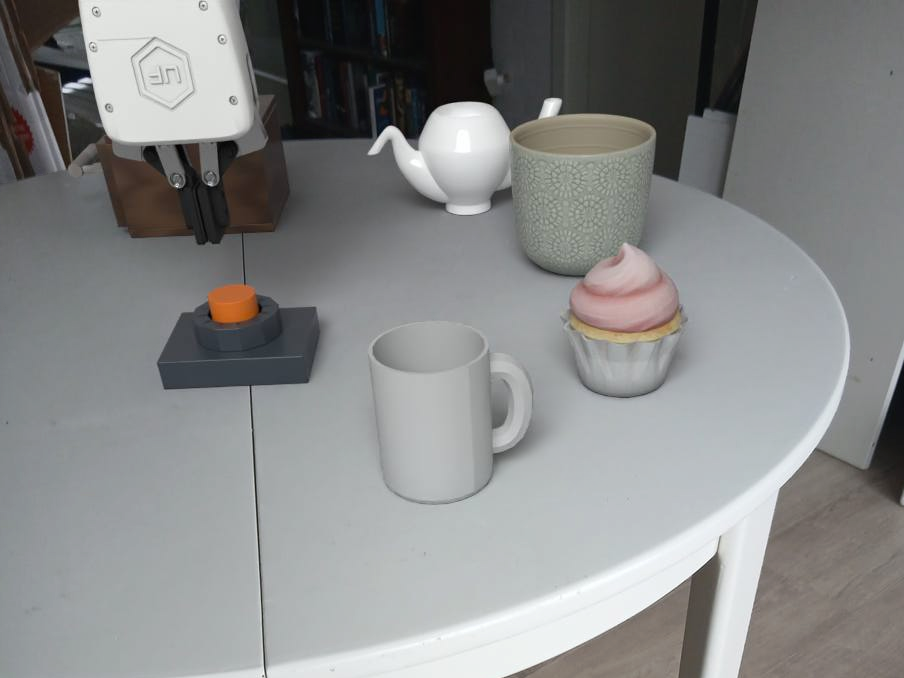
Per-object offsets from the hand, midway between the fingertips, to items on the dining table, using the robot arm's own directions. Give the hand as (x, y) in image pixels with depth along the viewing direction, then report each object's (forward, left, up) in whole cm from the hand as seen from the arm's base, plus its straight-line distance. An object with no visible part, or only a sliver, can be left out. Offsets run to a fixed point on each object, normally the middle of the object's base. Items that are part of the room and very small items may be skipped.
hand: (211, 237), depth 73 cm
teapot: (+19, +32, -9) cm, 38 cm away
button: (+1, -1, -6) cm, 6 cm away
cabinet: (-8, +34, -9) cm, 36 cm away
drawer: (-12, +34, -8) cm, 37 cm away
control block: (+1, -1, -9) cm, 9 cm away
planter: (+29, +16, -9) cm, 34 cm away
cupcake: (+30, -7, -9) cm, 32 cm away
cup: (+18, -19, -9) cm, 28 cm away
